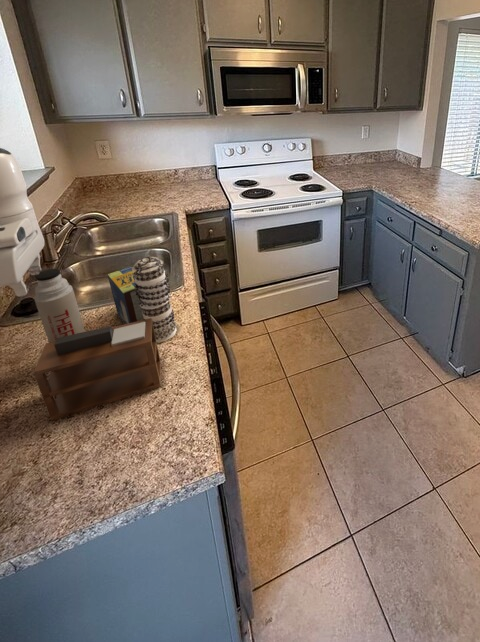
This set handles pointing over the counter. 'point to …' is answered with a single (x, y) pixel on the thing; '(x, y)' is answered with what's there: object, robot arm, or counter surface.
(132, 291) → the protein box
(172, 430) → the counter surface
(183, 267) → the counter surface
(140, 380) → the box
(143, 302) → the decorative candle
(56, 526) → the counter surface
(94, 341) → the spatula
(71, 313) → the thermos bottle
